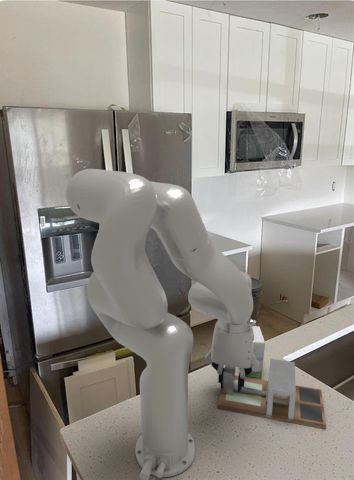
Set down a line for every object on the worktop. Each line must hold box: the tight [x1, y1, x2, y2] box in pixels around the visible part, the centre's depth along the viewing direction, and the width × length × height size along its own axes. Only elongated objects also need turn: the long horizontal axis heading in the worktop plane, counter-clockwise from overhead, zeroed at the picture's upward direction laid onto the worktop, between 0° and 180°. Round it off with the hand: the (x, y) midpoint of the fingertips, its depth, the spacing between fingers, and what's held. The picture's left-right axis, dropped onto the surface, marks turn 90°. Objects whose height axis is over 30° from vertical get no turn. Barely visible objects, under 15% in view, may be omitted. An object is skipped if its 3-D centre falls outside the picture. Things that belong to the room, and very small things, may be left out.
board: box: [217, 374, 327, 430], centre depth 91 cm, size 12×24×1 cm, turn 74°
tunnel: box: [266, 358, 297, 424], centre depth 90 cm, size 12×6×8 cm, turn 164°
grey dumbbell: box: [223, 365, 290, 407], centre depth 91 cm, size 6×16×6 cm, turn 74°
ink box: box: [245, 325, 266, 380], centre depth 101 cm, size 9×5×12 cm, turn 179°
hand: (231, 385), depth 93 cm, fingers closed on grey dumbbell, 3 cm apart
